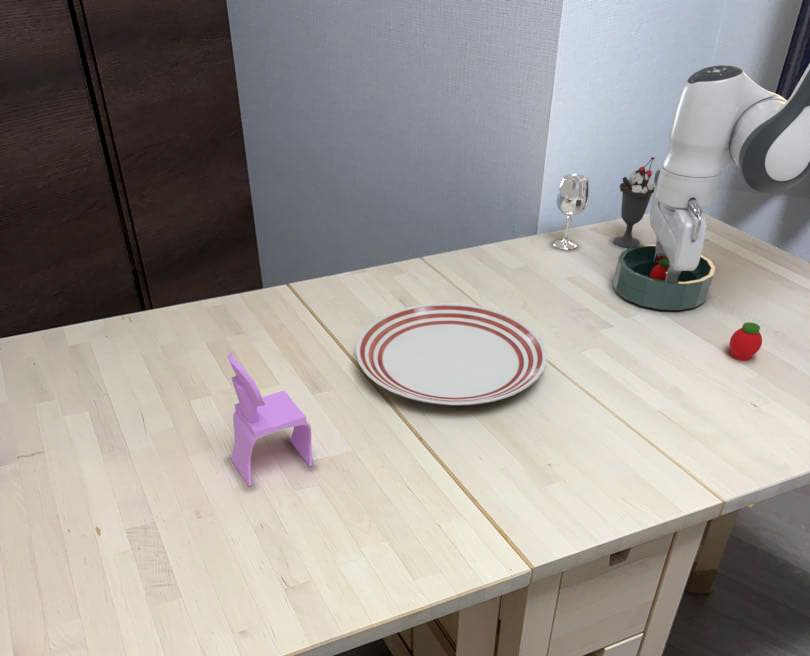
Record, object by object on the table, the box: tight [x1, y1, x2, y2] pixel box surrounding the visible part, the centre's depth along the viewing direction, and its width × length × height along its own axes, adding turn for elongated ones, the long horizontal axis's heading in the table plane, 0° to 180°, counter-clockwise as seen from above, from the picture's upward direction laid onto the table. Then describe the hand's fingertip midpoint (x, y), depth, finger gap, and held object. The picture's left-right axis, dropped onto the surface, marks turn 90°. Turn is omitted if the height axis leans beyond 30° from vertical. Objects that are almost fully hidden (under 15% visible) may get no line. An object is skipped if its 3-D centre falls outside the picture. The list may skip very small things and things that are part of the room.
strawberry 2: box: [729, 321, 763, 361], centre depth 111 cm, size 4×4×5 cm
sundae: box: [612, 156, 656, 249], centre depth 138 cm, size 7×7×15 cm
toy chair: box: [227, 352, 313, 487], centre depth 87 cm, size 8×9×15 cm
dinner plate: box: [355, 302, 548, 406], centre depth 108 cm, size 28×27×3 cm
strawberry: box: [650, 259, 670, 281], centre depth 126 cm, size 4×4×5 cm
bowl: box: [612, 243, 717, 311], centre depth 126 cm, size 16×16×5 cm
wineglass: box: [552, 173, 590, 250], centre depth 138 cm, size 6×6×12 cm
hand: (664, 274), depth 125 cm, fingers open, 6 cm apart
